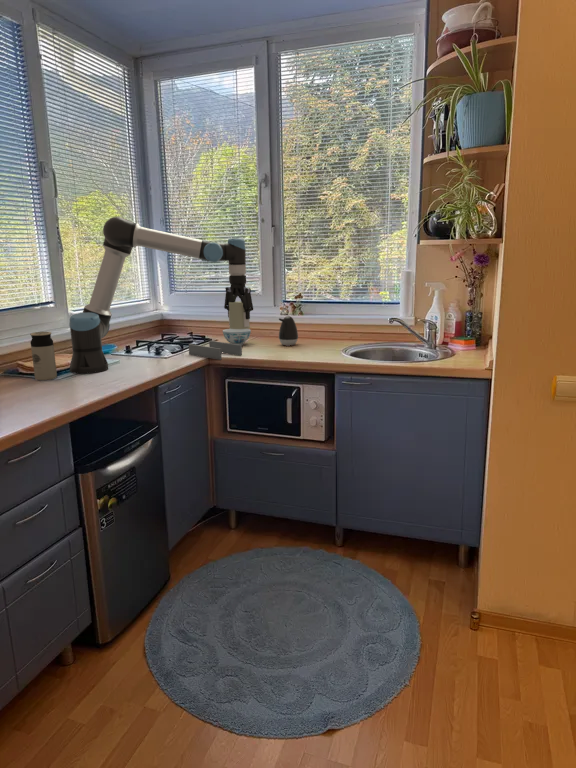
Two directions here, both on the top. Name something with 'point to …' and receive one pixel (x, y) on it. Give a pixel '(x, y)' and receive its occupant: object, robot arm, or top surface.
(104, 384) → the top surface
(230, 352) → the channel
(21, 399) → the top surface
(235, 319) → the can
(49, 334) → the travel mug
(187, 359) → the top surface
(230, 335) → the chinaware
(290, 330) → the pump dispenser
